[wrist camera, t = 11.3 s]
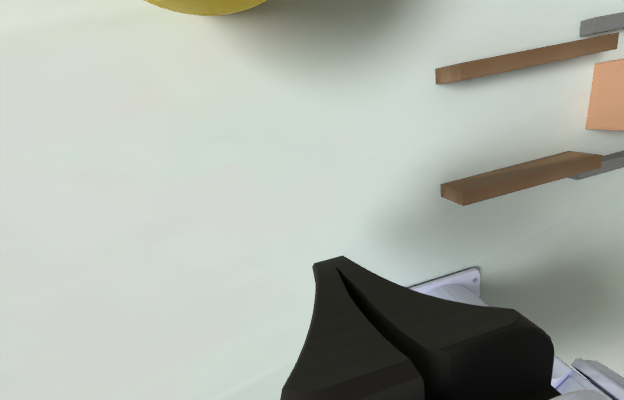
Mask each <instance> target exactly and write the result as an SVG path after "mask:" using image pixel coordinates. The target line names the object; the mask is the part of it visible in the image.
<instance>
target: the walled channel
mask: <svg viewBox="0 0 624 400" xmlns="http://www.w3.org/2000/svg"><path fill="white" fill-rule="evenodd" d="M618 36H619V33H614V34H608V35H603V36H598V37H593V38H588V39H583V40H578V41H573V42H567V43H562V44H557V45H552V46H547V47H542V48H537V49H532V50H526V51H521V52H516V53H511V54H506V55H501V56H496V57H491V58H485V59H480V60H475V61H470V62H465V63H460V64H455V65H451V66H446V67H442V68H438V69H435V71H436V84H442V83H449V82H456V81H462V80H467V79H472V78H477V77H482V76H486V75H491V74H496V73H501V72H506V71H511V70H516V69H521V68H526V67H530V66H535V65H540V64H545V63H550V62H555V61H560V60H565V59H569V58H574V57H579V56H584V55H589V54H594V53H599V52H604V51H608V50H613V49H617V44H618ZM601 163H602V155H596V154H588V153H580V152H572V151H567V152H563V153H560V154H556V155H552V156H548V157H544V158H540V159H537V160H533V161H529V162H525V163H521V164H517V165H514V166H510V167H506V168H502V169H498V170H494V171H491V172H487V173H483V174H479V175H475V176H471V177H468V178H464V179H460V180H456V181H452V182H448V183H445V184H441V197H444V198H446V199H448V200H451V201H453V202H455V203H458V204H460V205H462V206H465V205H469V204H472V203H476V202H479V201H483V200H487V199H490V198H494V197H497V196H501V195H505V194H508V193H512V192H516V191H519V190H523V189H526V188H530V187H534V186H537V185H541V184H544V183H548V182H552V181H555V180H559V179H563V178H566V177H570V176H573V175H577V174H581V173H584V172H588V171H592V170H595V169H599V168H601Z"/></svg>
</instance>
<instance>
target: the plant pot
mask: <svg viewBox="0 0 624 400" xmlns="http://www.w3.org/2000/svg"><path fill="white" fill-rule="evenodd" d="M144 1H147V2H149V3H151V4H154V5H156V6H159V7H162V8H165V9H168V10H172V11H175V12H180V13H185V14H193V15H203V16H214V15H226V14H232V13H237V12H241V11H244V10H247V9H250V8H253V7H255V6H257V5H260V4H262V3H263V2H265V1H267V0H144Z"/></svg>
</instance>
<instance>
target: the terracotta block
mask: <svg viewBox="0 0 624 400" xmlns="http://www.w3.org/2000/svg"><path fill="white" fill-rule="evenodd" d="M586 129H603V130H623V131H624V59H620V60H614V61H608V62H602V63H595V67H594V74H593V81H592V88H591V95H590V102H589V109H588V116H587V123H586Z"/></svg>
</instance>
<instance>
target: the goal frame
mask: <svg viewBox="0 0 624 400" xmlns="http://www.w3.org/2000/svg"><path fill="white" fill-rule="evenodd" d="M621 28H624V12H622V13H617V14H611V15H606V16H600V17H595V18H592V19H588V20H584V21H581V28H580V36H584V35H590V34H595V33H600V32H605V31H610V30H616V29H621ZM622 167H624V151H621V152H618V153H614V154H610V155H607V156H603V157H602V163H601V168H599V169H595V170H592V171H588V172H584V173H581V174H577V175H573V176H570V177H567V178H572V179H577V180H579V179H583V178H587V177H590V176H594V175H597V174H601V173H604V172H608V171H612V170H615V169H619V168H622Z"/></svg>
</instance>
